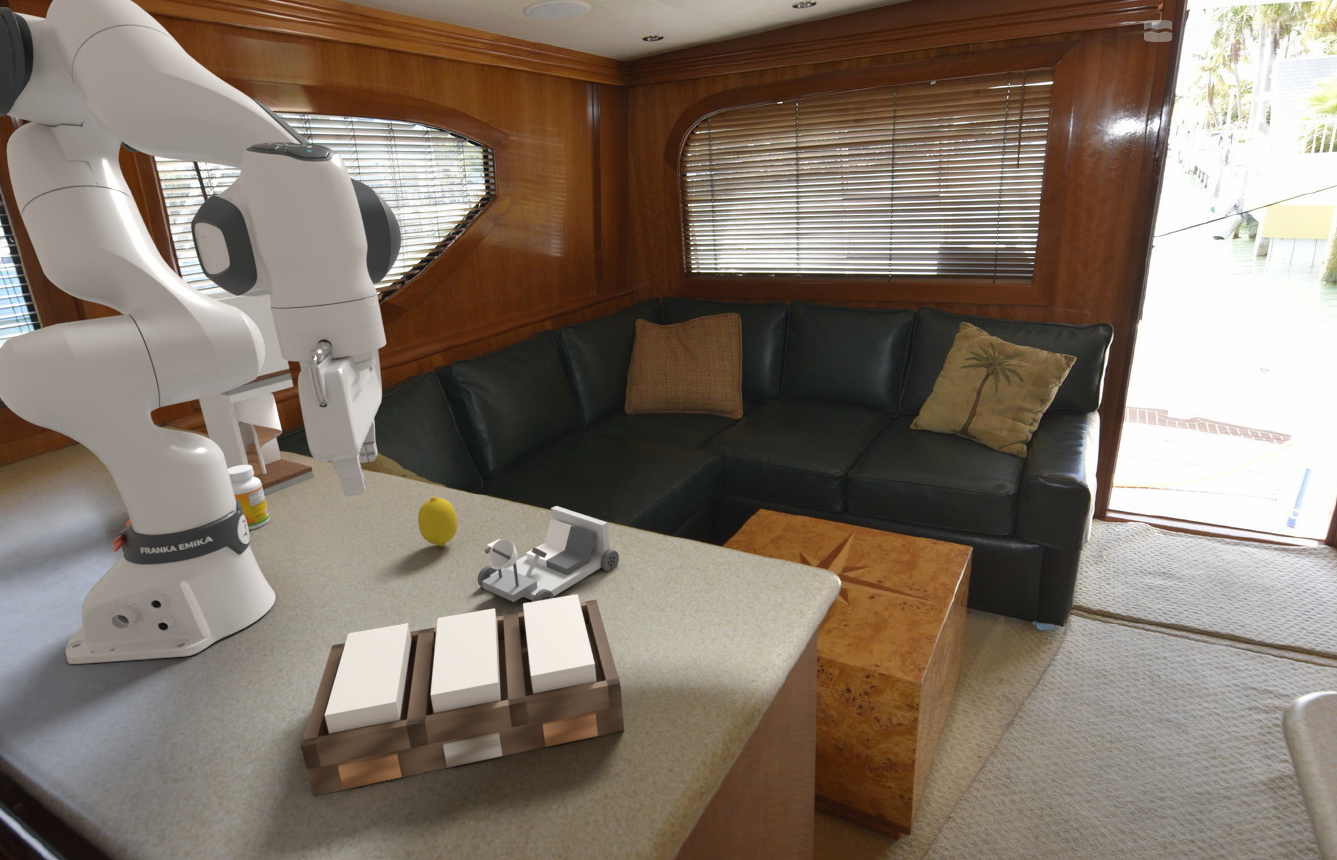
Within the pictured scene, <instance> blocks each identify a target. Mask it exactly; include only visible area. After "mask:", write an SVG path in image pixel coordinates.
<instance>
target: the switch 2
mask: <svg viewBox="0 0 1337 860" xmlns="http://www.w3.org/2000/svg"><path fill="white" fill-rule="evenodd" d="M496 617H497V612H496V608H490V609H484V610H476V611H472V612H471V611H470V612H466V613H459V614H455V615H448V616H442V617H438V618H437V622H436V627H437V631H436V642H435V653H434V663H433V674H432V685H431V700H432V705H433V711H434V713H438V712H443V711H448V710H453V709H458V708H463V707H469V706H474V705H479V704H484V703H489V702H494V701H499V700H501V695H500V673H499V650H498V628H497V619H496Z"/></svg>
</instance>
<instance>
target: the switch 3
mask: <svg viewBox="0 0 1337 860" xmlns="http://www.w3.org/2000/svg"><path fill="white" fill-rule="evenodd" d="M580 602H581V601H580V598H579V594H570V595H566V596H565V595H564V596H559V597H554V598H552V599H547V600H541V601H535V602H533V601H531V602H524V603H522V604H523V605H522V607H523V612H524V618H525V627H526V636H527V645H528V655H529V664H530V673H531V681H532V689H533V694H535V693H540V692H545V691H550V690H555V689H560V688H565V687H570V686H576V685H581V684H586V683H591V682H596V672H595V663H594V659H593V655H592V651H591V647H590V642H589V638H588V634H587V630H586V626H585V622H584V618H583V614H582V610H581V606H580Z"/></svg>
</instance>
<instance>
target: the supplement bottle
mask: <svg viewBox="0 0 1337 860" xmlns="http://www.w3.org/2000/svg"><path fill="white" fill-rule="evenodd" d="M228 473H229V476H230V480H231V484H232V488H233V492H234V496H235V499H237V500H238V501H239V502H240V504H241V507H242V510H243V514H244V516H245V518H246V521H247V524H248V529H249V531H250V530H255V529H258V528H261V527H263V526H264V525H266V524H268V523H269V522H270V519H271V516H270V511H269V508H268V505H267V500H266V497H265V496H266V495H265V496H264V492H263V488H262V484H261V481H260V480H259V479H258V478H256V477H253V475H254V471H253V468H252V466H251V465H238V466H234V467H231V468H229V469H228Z"/></svg>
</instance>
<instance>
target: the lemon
mask: <svg viewBox="0 0 1337 860" xmlns="http://www.w3.org/2000/svg"><path fill="white" fill-rule="evenodd" d="M458 522H459V521H458V516H457V513H456V510H455V508H454V506H453V505H452V503H451V502H450V501H448V500H446V499H444V498H442V497H437V496H431V498H430V499H428V500H426V501H425V502H424V503H422V505H421V506H420V509H419V511H418V515H417V525H418V528H419V530H418V531H419V532H420V535H421V536H422V538H423V539H424V540H425V541H426V542H428V543H430V544H433V545H437V546H439V547H444V546H445V545H446V543H448V542H450V541H451V540H452V539H453V538H454V536H456V534H457V532H458Z"/></svg>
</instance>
